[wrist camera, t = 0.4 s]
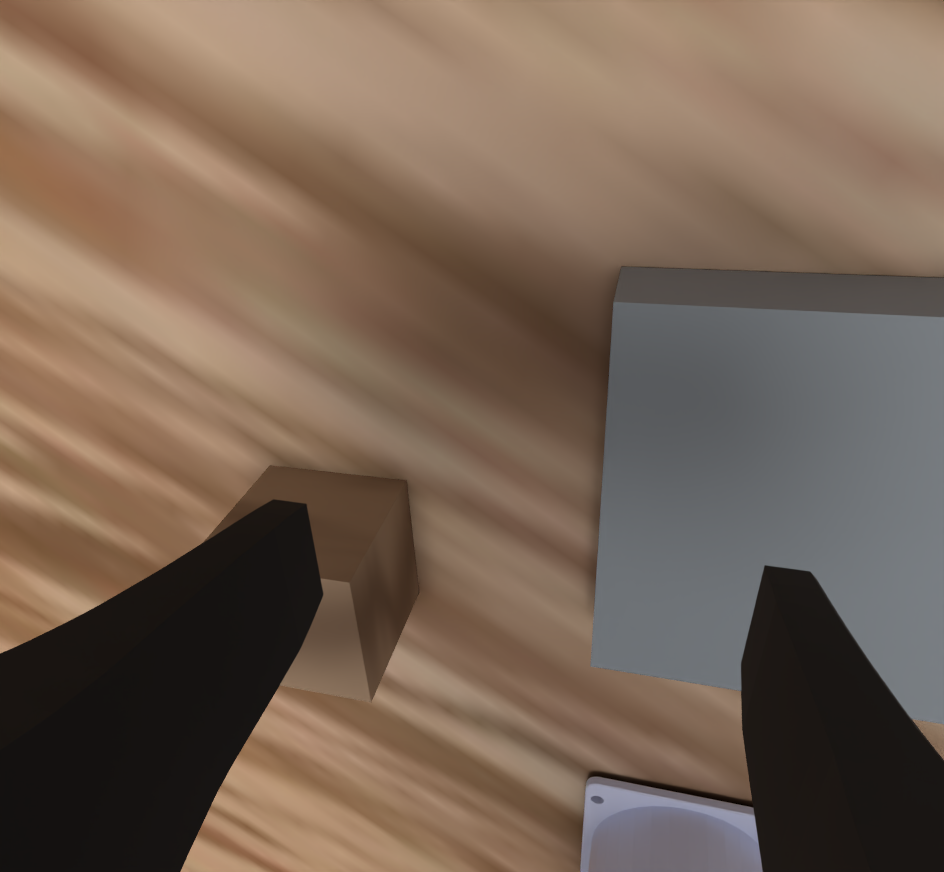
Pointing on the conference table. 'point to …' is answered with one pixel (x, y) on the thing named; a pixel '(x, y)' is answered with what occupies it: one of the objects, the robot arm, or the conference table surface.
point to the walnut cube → (347, 574)
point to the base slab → (773, 469)
